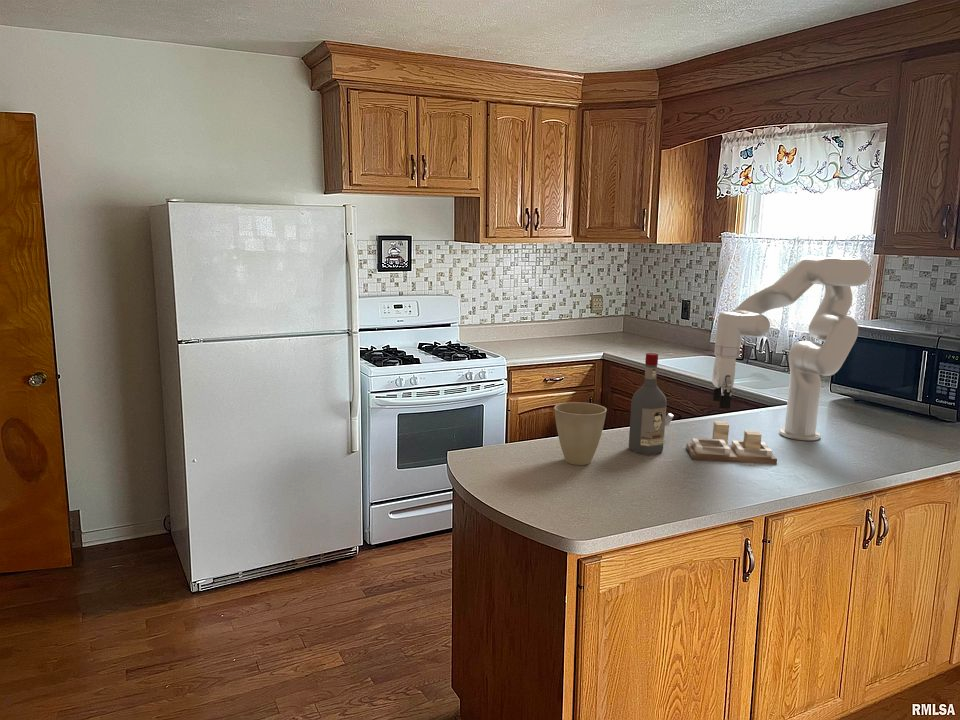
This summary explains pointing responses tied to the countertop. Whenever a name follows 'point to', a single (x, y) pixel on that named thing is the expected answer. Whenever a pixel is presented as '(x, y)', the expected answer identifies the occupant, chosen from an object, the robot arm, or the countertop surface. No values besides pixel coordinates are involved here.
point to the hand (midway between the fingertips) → (721, 404)
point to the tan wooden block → (720, 430)
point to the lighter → (668, 420)
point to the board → (732, 449)
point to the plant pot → (579, 430)
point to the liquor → (648, 413)
